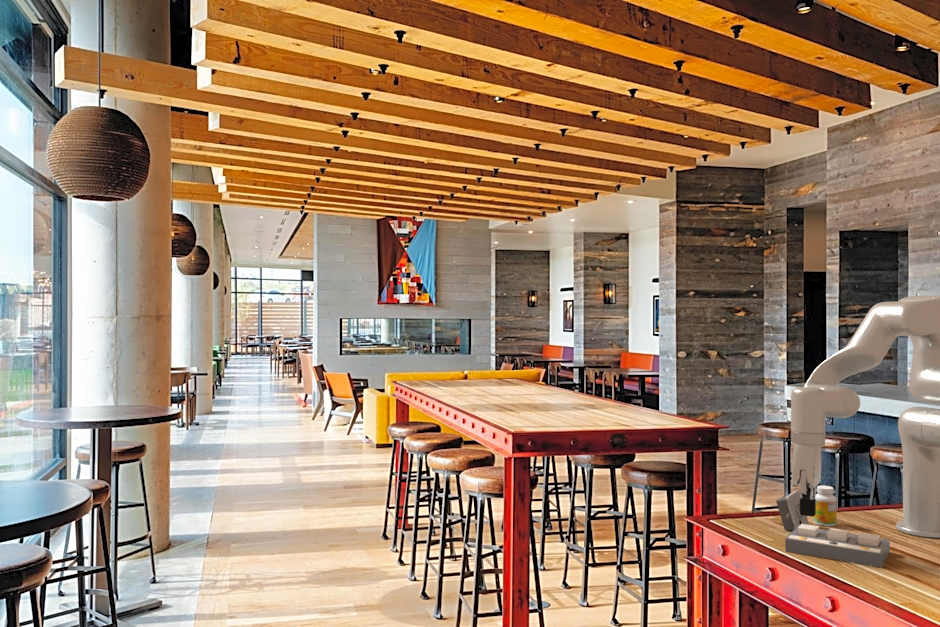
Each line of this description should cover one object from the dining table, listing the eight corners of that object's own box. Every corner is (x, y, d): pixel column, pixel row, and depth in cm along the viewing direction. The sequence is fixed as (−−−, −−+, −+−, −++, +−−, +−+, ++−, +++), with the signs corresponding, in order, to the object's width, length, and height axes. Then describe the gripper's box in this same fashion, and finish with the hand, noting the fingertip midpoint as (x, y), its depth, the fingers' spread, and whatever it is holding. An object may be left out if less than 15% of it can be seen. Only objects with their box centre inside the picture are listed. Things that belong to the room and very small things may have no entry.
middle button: (830, 538, 180) (830, 528, 180) (849, 541, 177) (849, 530, 177) (827, 542, 177) (827, 532, 177) (845, 545, 174) (845, 535, 174)
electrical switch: (799, 534, 190) (795, 497, 191) (778, 532, 194) (774, 496, 194) (809, 526, 198) (805, 490, 198) (789, 524, 201) (785, 489, 201)
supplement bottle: (809, 522, 201) (809, 485, 201) (826, 520, 203) (825, 484, 203) (824, 527, 196) (824, 490, 196) (841, 525, 198) (841, 488, 198)
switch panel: (798, 537, 187) (798, 524, 187) (889, 552, 176) (889, 538, 176) (785, 551, 177) (785, 537, 177) (881, 567, 165) (881, 552, 165)
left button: (801, 534, 184) (801, 523, 184) (819, 536, 181) (819, 526, 181) (797, 538, 180) (797, 527, 180) (815, 540, 178) (815, 530, 178)
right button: (860, 543, 176) (860, 532, 176) (880, 546, 174) (880, 535, 174) (857, 547, 173) (857, 536, 173) (877, 550, 170) (877, 539, 170)
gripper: (798, 433, 189) (798, 506, 189) (783, 441, 177) (783, 519, 177) (831, 436, 185) (831, 511, 185) (818, 444, 173) (818, 524, 172)
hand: (807, 514), depth 181 cm, fingers closed
